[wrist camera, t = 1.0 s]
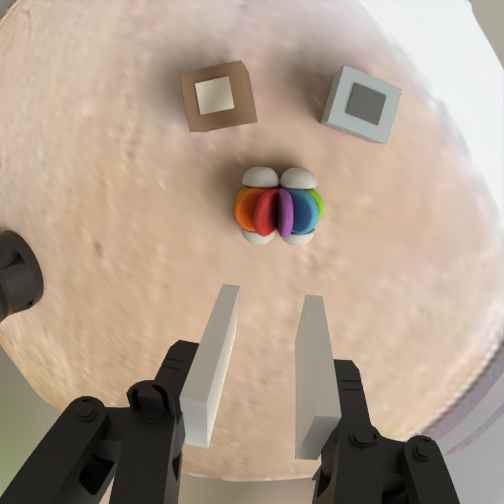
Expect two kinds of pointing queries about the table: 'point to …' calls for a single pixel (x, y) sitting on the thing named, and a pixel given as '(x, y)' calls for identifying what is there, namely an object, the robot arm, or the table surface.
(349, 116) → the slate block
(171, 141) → the table surface
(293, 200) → the rainbow segmented toy
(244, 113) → the walnut block
